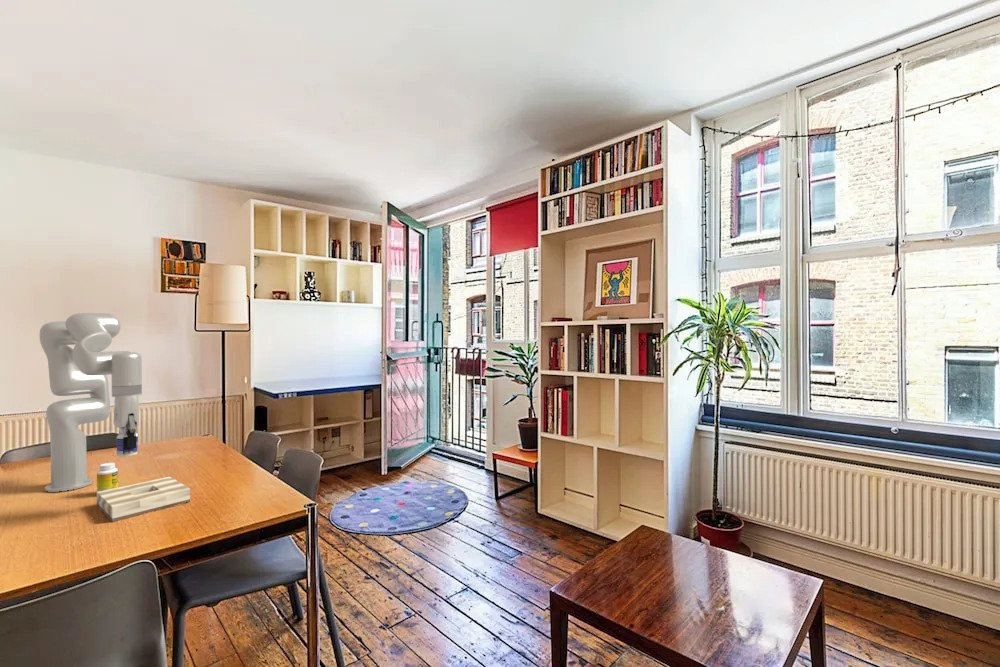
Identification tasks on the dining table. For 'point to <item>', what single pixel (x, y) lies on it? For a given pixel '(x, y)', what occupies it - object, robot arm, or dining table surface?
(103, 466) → the supplement bottle
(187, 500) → the socket block
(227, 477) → the dining table surface
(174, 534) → the dining table surface
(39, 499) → the dining table surface
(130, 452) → the pill bottle
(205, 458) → the dining table surface
